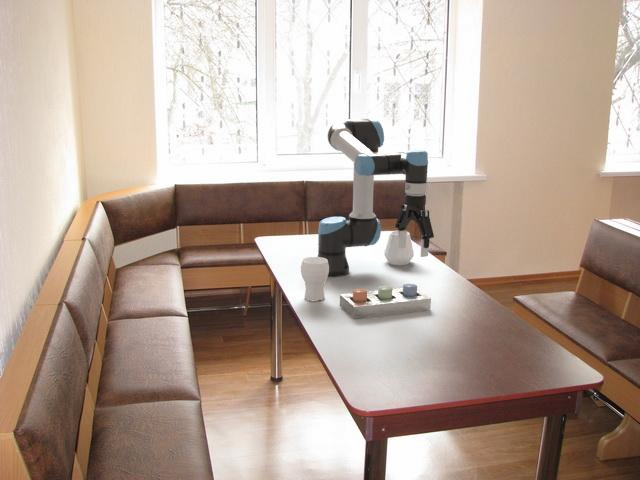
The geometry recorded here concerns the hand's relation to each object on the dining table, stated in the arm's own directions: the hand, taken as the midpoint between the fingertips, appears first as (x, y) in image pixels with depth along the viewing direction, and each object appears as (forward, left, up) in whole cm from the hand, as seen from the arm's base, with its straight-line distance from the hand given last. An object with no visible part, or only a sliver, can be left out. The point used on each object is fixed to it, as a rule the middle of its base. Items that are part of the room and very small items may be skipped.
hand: (413, 252), depth 241 cm
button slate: (-1, 0, -18) cm, 18 cm away
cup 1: (-19, -31, -21) cm, 42 cm away
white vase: (-53, +21, -21) cm, 61 cm away
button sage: (-1, -10, -18) cm, 21 cm away
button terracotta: (-1, -20, -18) cm, 27 cm away
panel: (-1, -10, -21) cm, 23 cm away
